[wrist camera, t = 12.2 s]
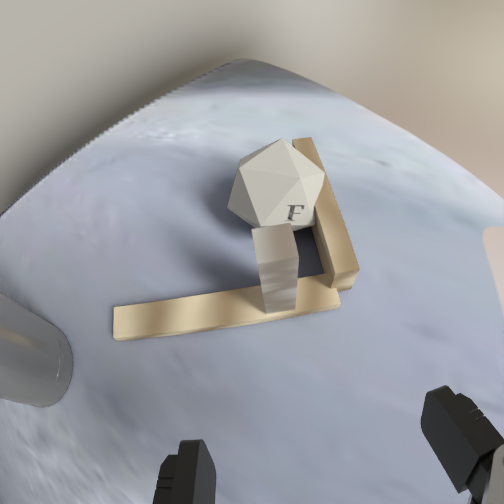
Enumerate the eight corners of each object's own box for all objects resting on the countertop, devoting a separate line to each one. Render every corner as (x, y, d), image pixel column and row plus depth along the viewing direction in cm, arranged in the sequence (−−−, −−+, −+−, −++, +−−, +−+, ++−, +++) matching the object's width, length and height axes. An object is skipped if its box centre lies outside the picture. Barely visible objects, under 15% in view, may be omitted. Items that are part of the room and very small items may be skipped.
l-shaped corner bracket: (118, 341, 27) (53, 301, 18) (127, 197, 35) (90, 135, 27) (355, 304, 27) (385, 245, 18) (309, 163, 35) (312, 89, 26)
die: (221, 241, 32) (253, 234, 23) (218, 158, 32) (247, 122, 23) (295, 238, 35) (347, 231, 26) (289, 162, 35) (337, 133, 26)
